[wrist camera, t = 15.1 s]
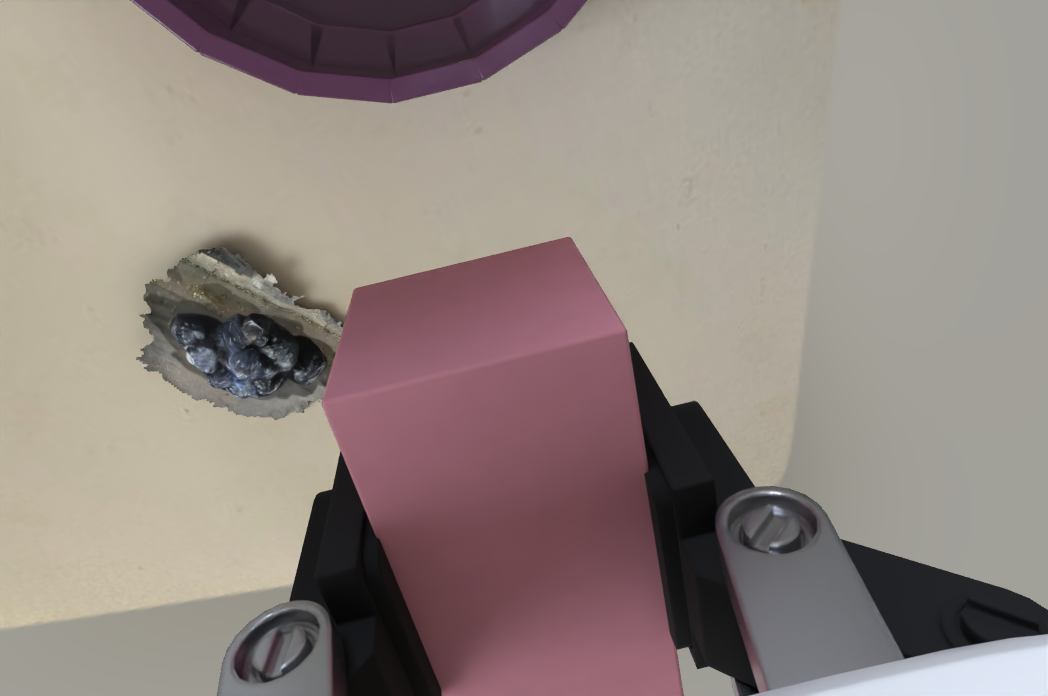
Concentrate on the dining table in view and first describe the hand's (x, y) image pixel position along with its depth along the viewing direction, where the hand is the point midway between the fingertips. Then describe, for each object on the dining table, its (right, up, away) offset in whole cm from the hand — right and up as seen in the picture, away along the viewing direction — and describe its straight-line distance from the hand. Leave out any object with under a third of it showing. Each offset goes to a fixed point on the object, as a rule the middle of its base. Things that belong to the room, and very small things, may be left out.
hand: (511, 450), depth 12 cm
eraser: (0, 0, 0) cm, 0 cm away
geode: (-10, +2, +14) cm, 17 cm away
